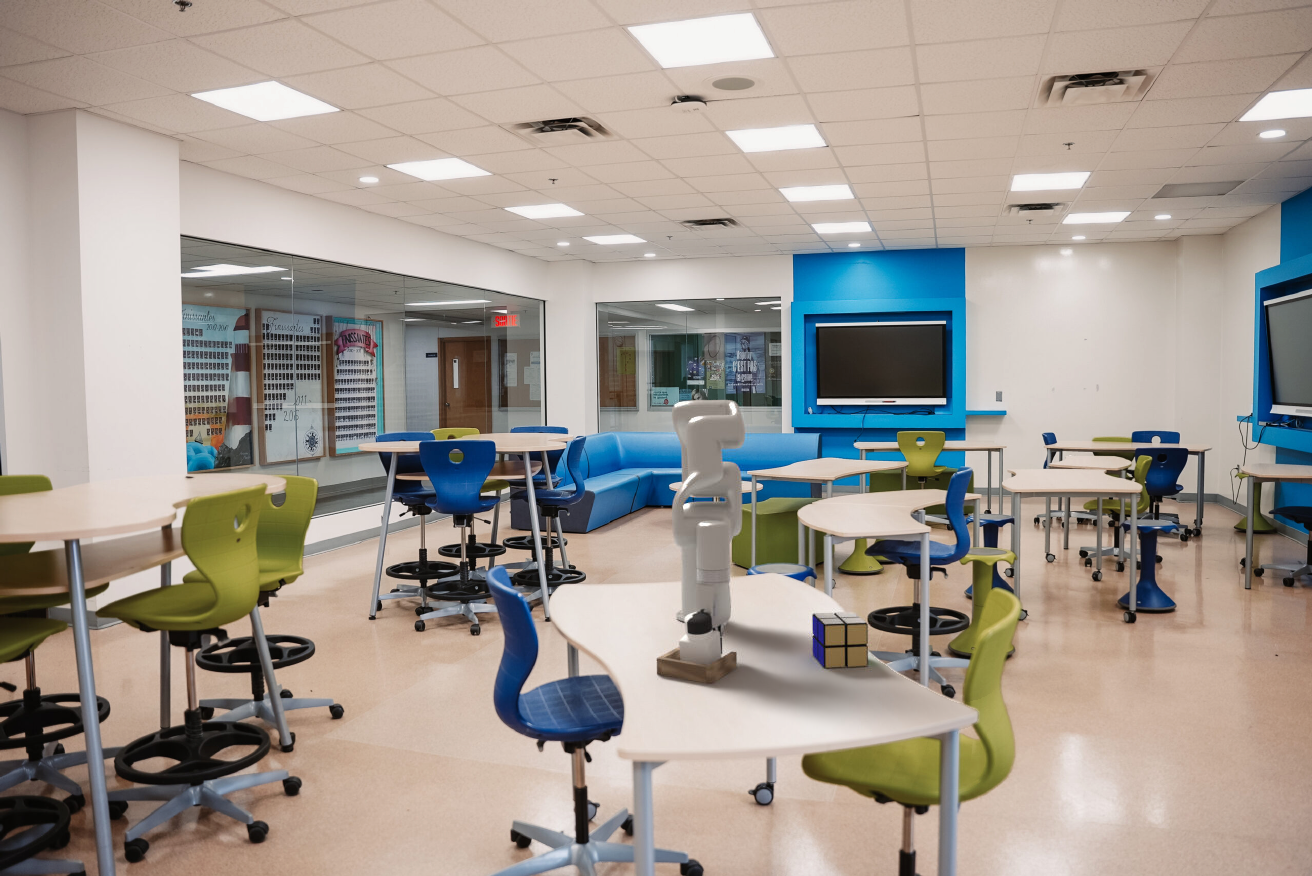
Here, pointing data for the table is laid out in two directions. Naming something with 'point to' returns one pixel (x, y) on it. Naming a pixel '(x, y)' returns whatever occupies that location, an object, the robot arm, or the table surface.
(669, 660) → the bay
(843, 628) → the puzzle cube
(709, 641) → the medicine bottle
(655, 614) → the table surface
